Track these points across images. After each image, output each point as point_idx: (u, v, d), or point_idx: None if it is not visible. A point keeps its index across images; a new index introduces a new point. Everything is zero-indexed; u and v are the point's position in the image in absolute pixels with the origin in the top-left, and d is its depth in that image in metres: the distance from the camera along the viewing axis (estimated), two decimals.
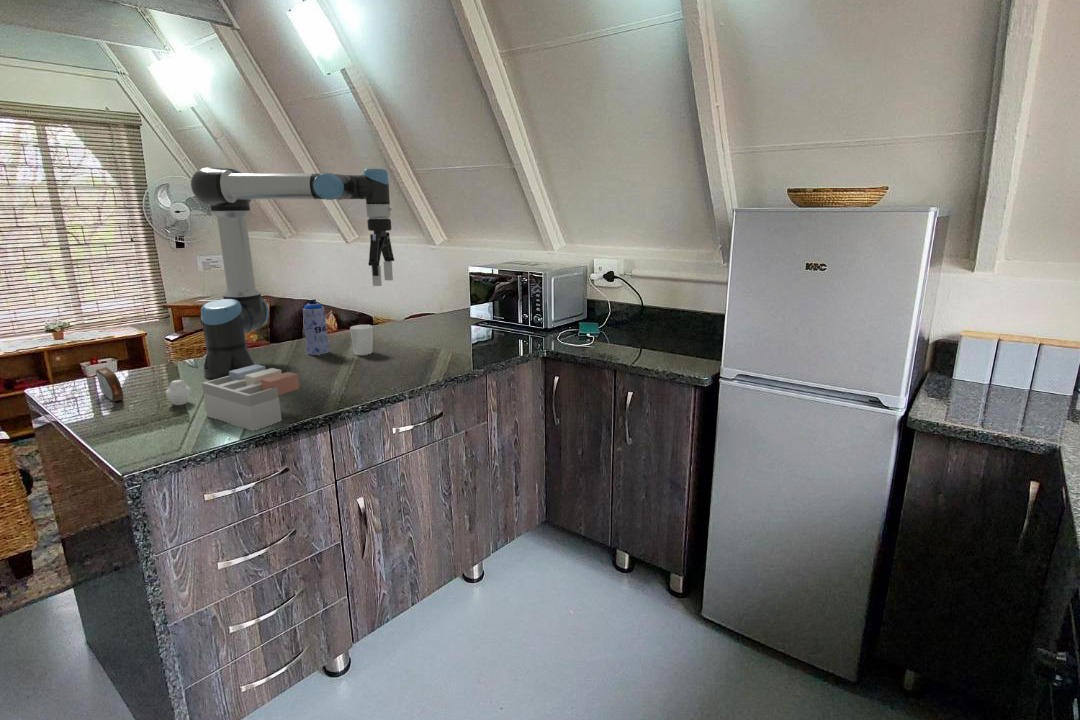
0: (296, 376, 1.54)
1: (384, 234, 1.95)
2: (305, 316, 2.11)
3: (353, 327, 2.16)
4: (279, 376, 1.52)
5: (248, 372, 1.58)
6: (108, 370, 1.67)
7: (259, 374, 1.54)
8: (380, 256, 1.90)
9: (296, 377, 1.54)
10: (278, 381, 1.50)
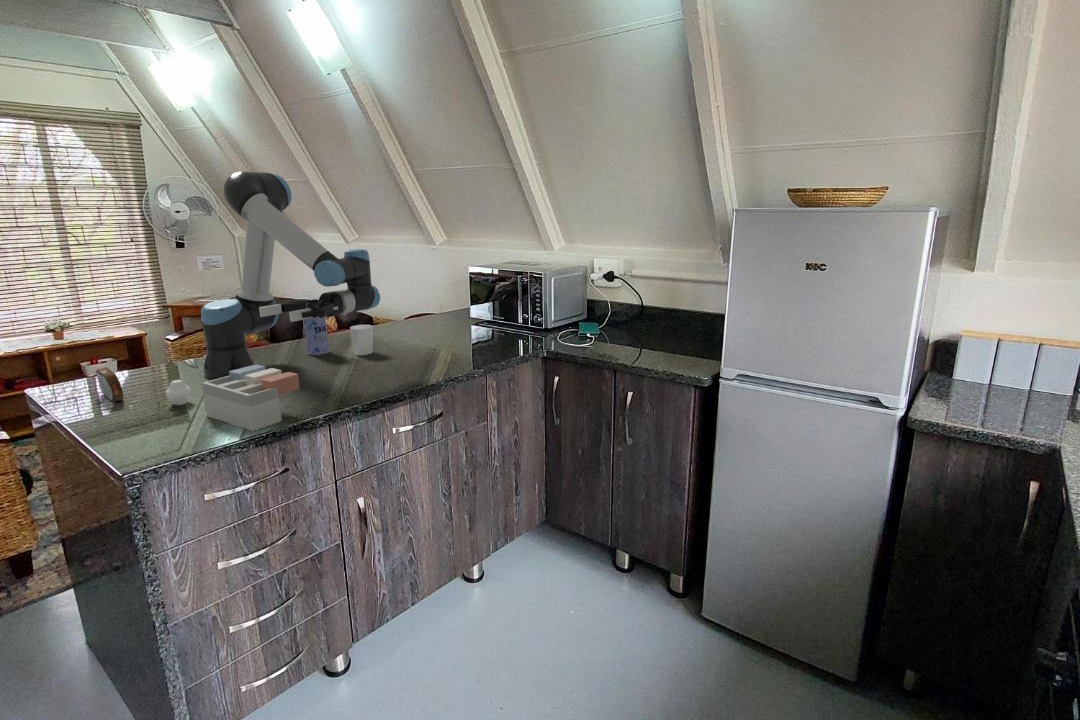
0: (296, 376, 1.54)
1: None
2: None
3: (353, 327, 2.16)
4: (279, 376, 1.52)
5: (248, 372, 1.58)
6: (108, 370, 1.67)
7: (259, 374, 1.54)
8: None
9: (296, 377, 1.54)
10: (278, 381, 1.50)
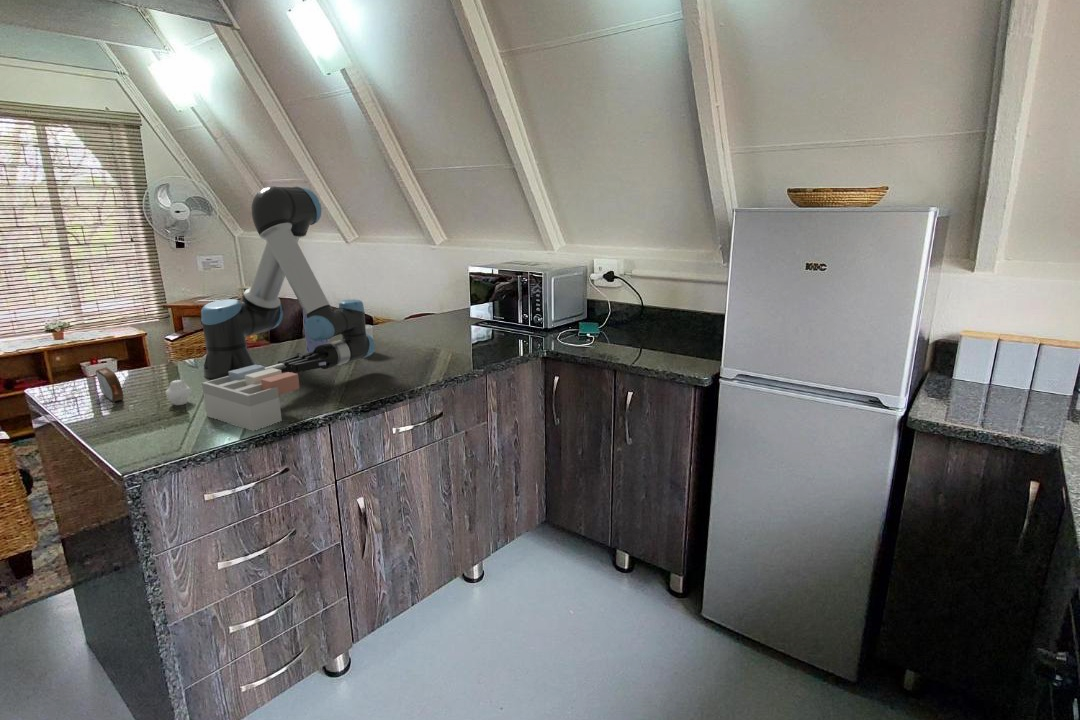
0: (296, 376, 1.54)
1: None
2: (305, 316, 2.11)
3: None
4: (279, 376, 1.52)
5: (247, 372, 1.57)
6: (108, 370, 1.67)
7: (259, 374, 1.54)
8: None
9: (296, 377, 1.54)
10: (278, 381, 1.50)
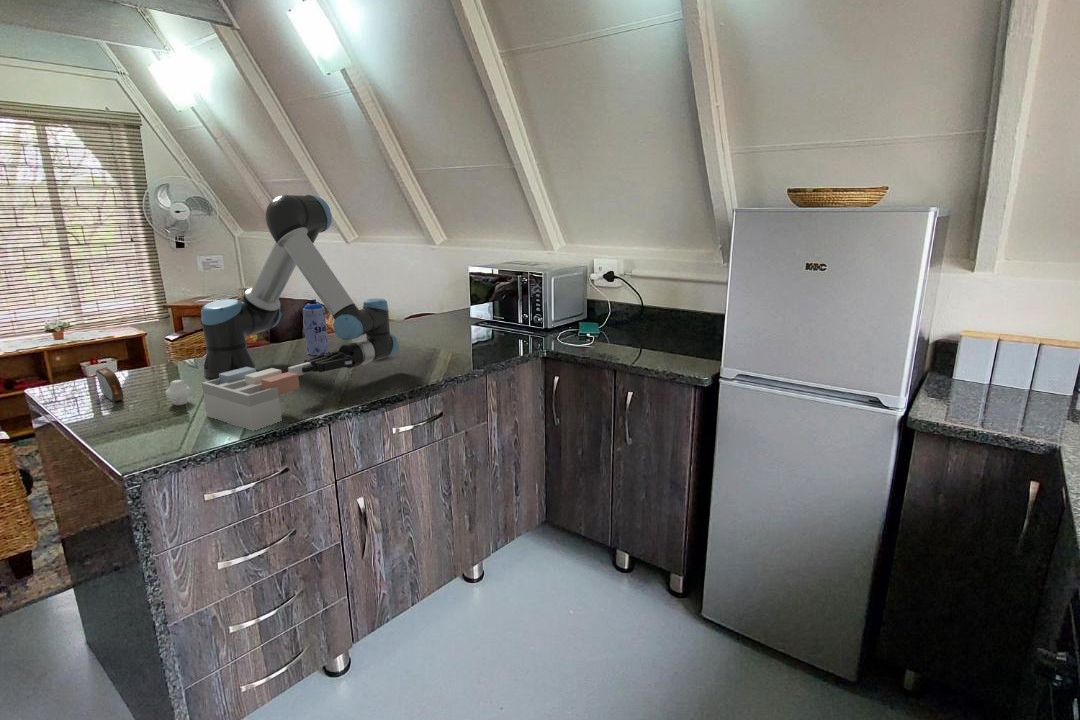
0: (296, 376, 1.54)
1: None
2: (305, 316, 2.11)
3: None
4: (279, 376, 1.52)
5: (238, 375, 1.55)
6: (108, 370, 1.67)
7: (259, 374, 1.54)
8: None
9: (296, 377, 1.54)
10: (278, 381, 1.50)
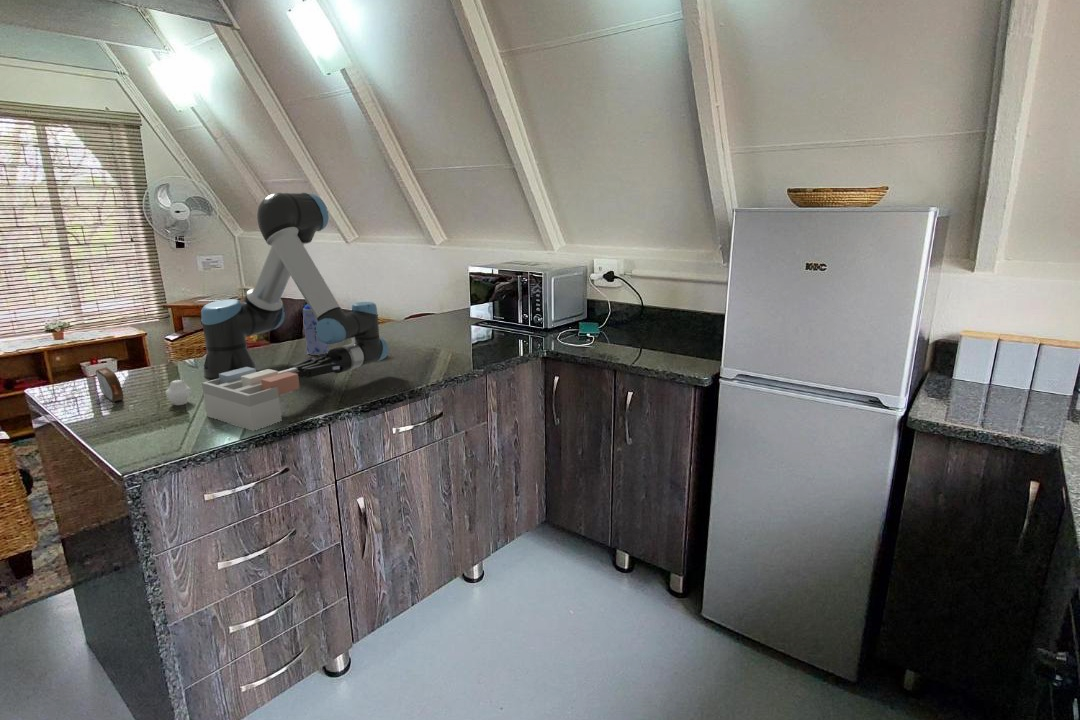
0: (296, 376, 1.54)
1: None
2: (305, 316, 2.11)
3: None
4: (279, 376, 1.52)
5: (238, 375, 1.55)
6: (108, 370, 1.67)
7: (255, 375, 1.53)
8: None
9: (296, 377, 1.54)
10: (278, 381, 1.50)
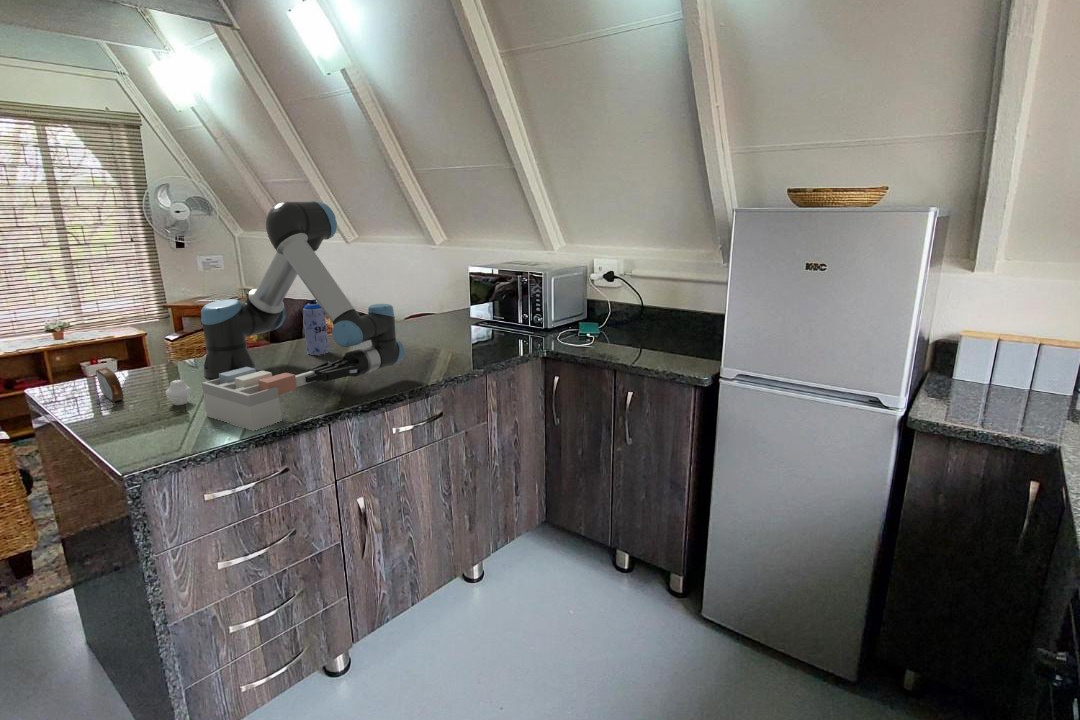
0: (293, 377, 1.54)
1: None
2: (305, 316, 2.11)
3: None
4: (276, 377, 1.52)
5: (238, 375, 1.55)
6: (108, 370, 1.67)
7: (249, 377, 1.52)
8: None
9: (293, 378, 1.54)
10: (275, 382, 1.49)
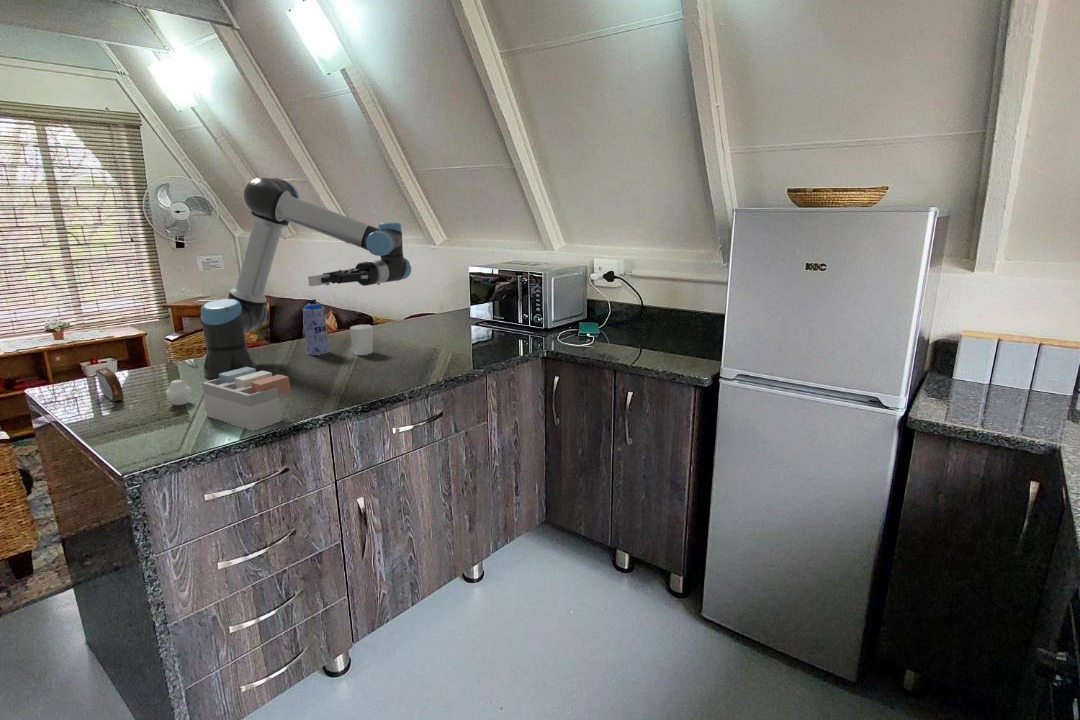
0: (287, 379, 1.52)
1: None
2: (305, 316, 2.11)
3: (353, 327, 2.16)
4: (269, 379, 1.50)
5: (238, 375, 1.55)
6: (108, 370, 1.67)
7: (249, 377, 1.52)
8: None
9: (287, 380, 1.52)
10: (268, 384, 1.48)
